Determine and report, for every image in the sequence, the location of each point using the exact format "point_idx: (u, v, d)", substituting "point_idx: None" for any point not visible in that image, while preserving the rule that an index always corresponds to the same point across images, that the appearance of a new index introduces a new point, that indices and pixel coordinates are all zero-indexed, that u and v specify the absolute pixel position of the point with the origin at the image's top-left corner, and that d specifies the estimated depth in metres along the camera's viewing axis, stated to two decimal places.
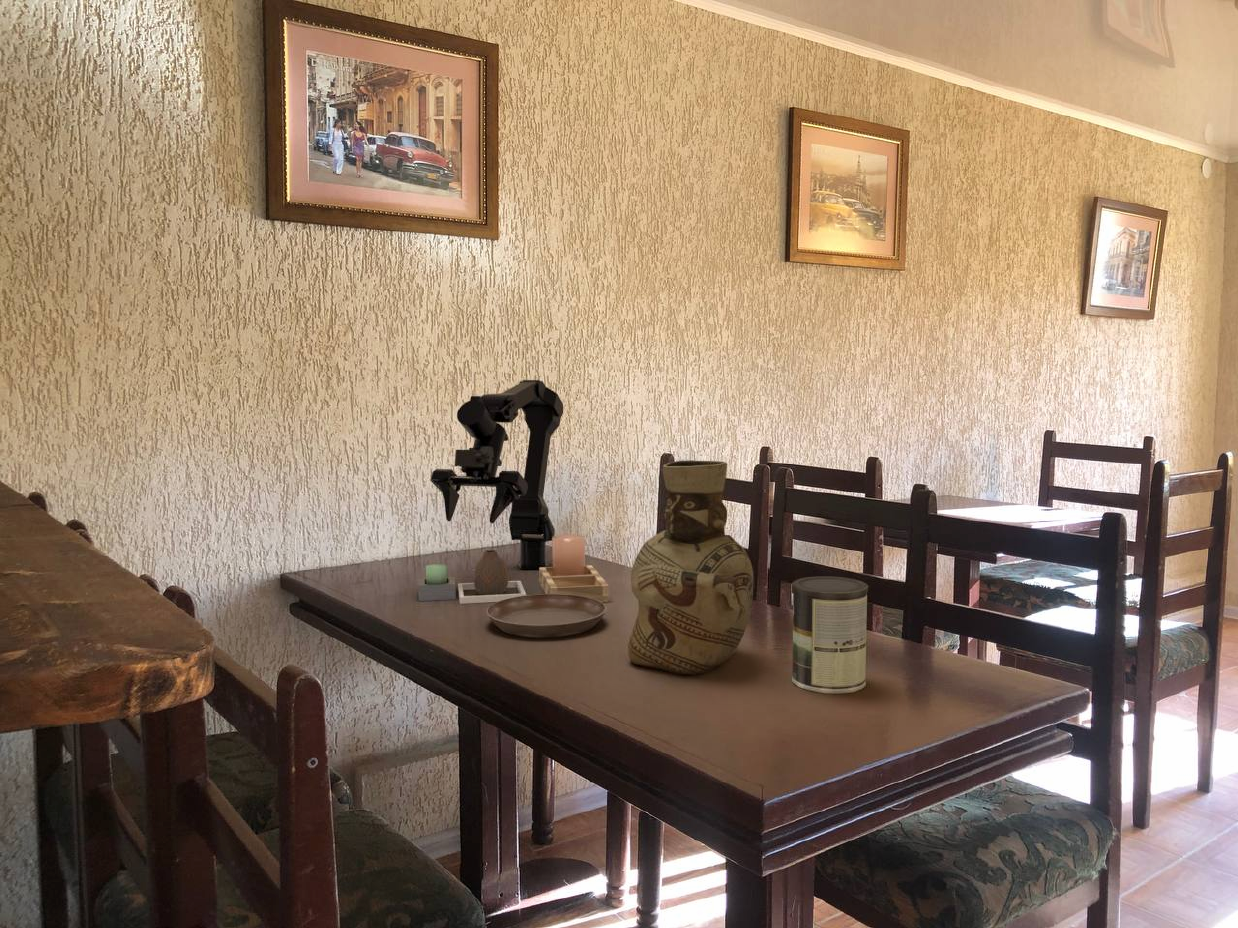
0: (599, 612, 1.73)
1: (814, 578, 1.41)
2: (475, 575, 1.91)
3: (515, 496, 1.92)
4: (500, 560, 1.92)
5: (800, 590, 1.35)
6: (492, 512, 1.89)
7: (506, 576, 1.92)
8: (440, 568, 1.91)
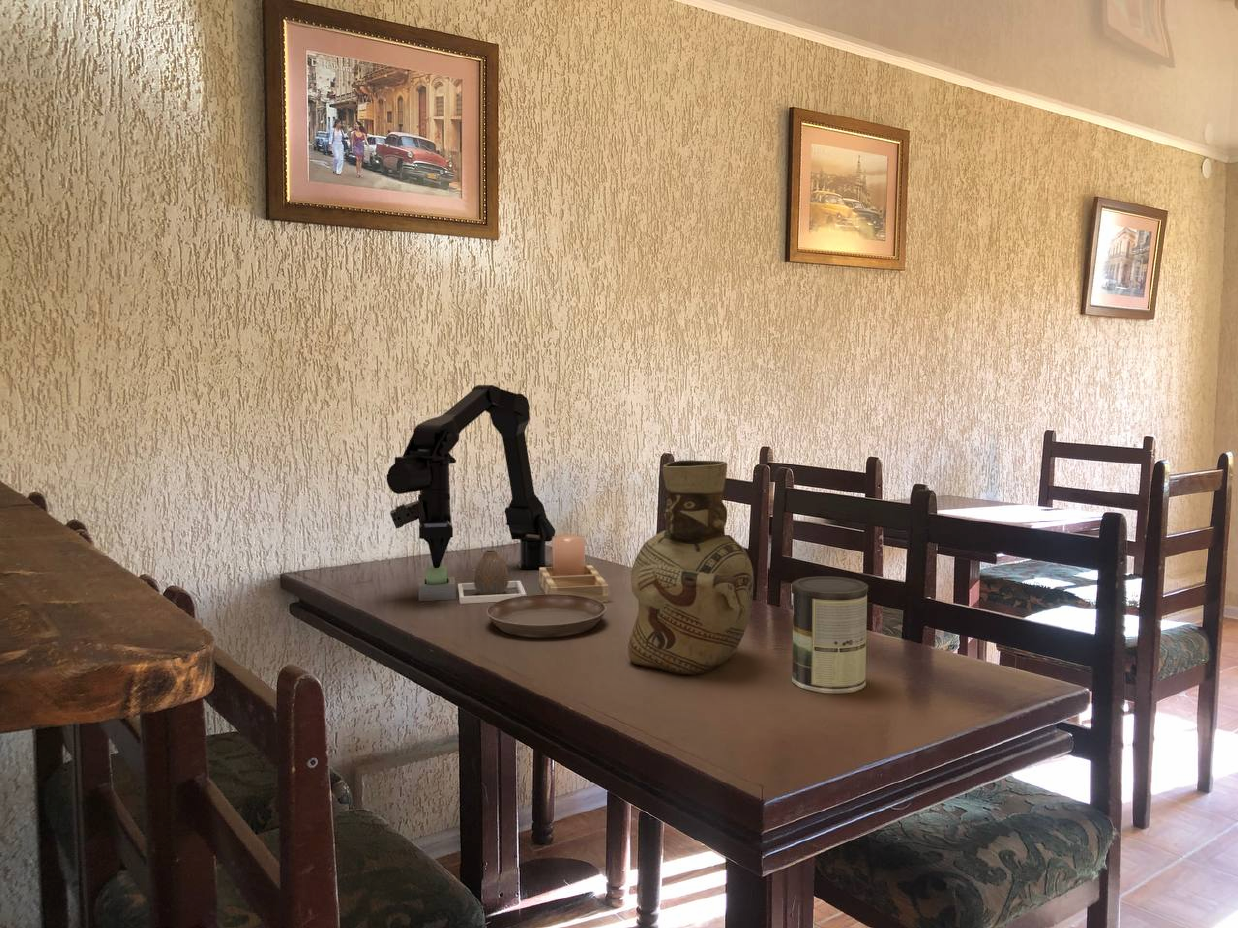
0: (599, 612, 1.73)
1: (814, 578, 1.41)
2: (475, 575, 1.91)
3: None
4: (500, 560, 1.92)
5: (800, 590, 1.35)
6: None
7: (506, 576, 1.92)
8: (440, 570, 1.91)
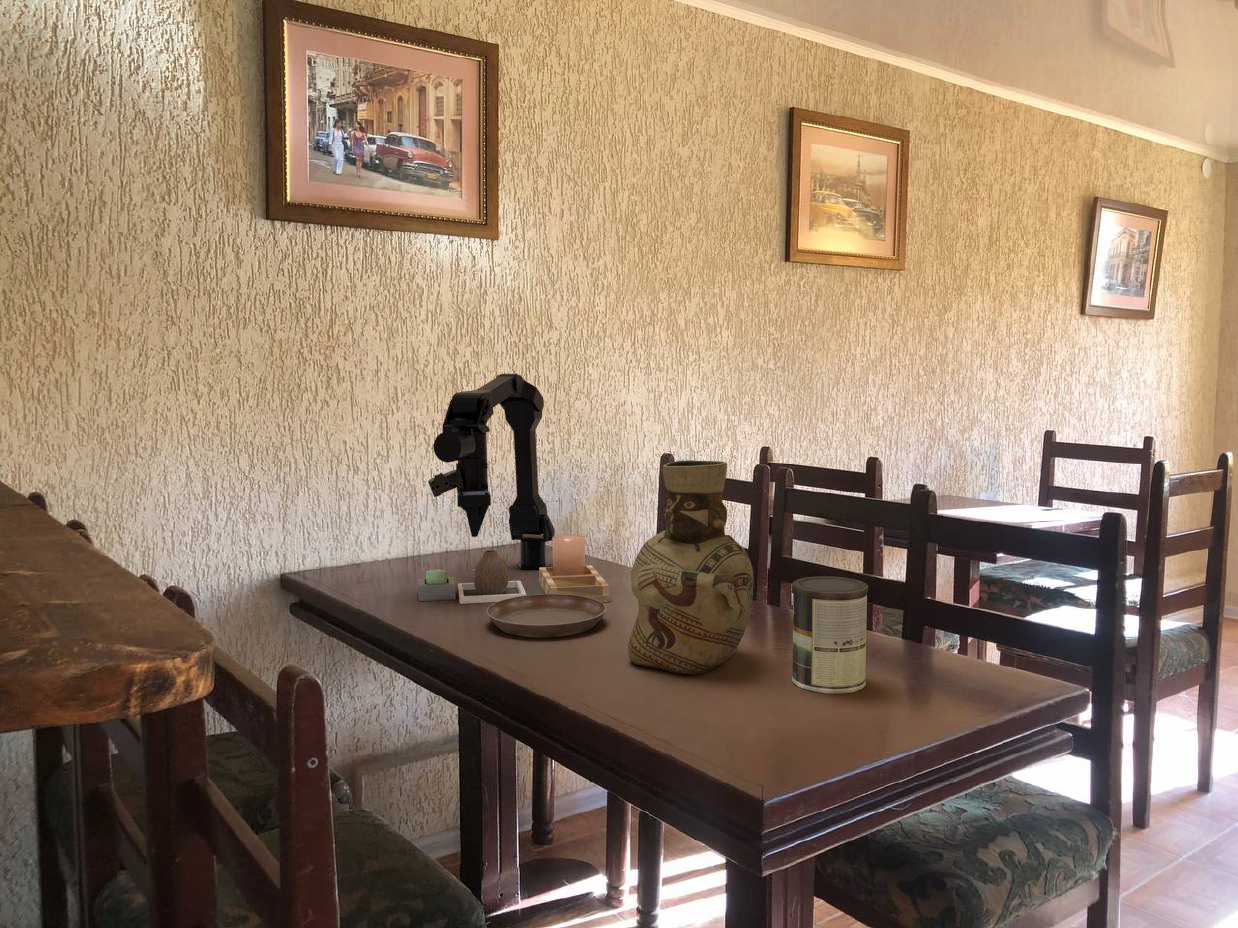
0: (599, 612, 1.73)
1: (814, 578, 1.41)
2: (475, 575, 1.91)
3: None
4: (500, 560, 1.92)
5: (800, 590, 1.35)
6: None
7: (506, 576, 1.92)
8: (440, 574, 1.91)
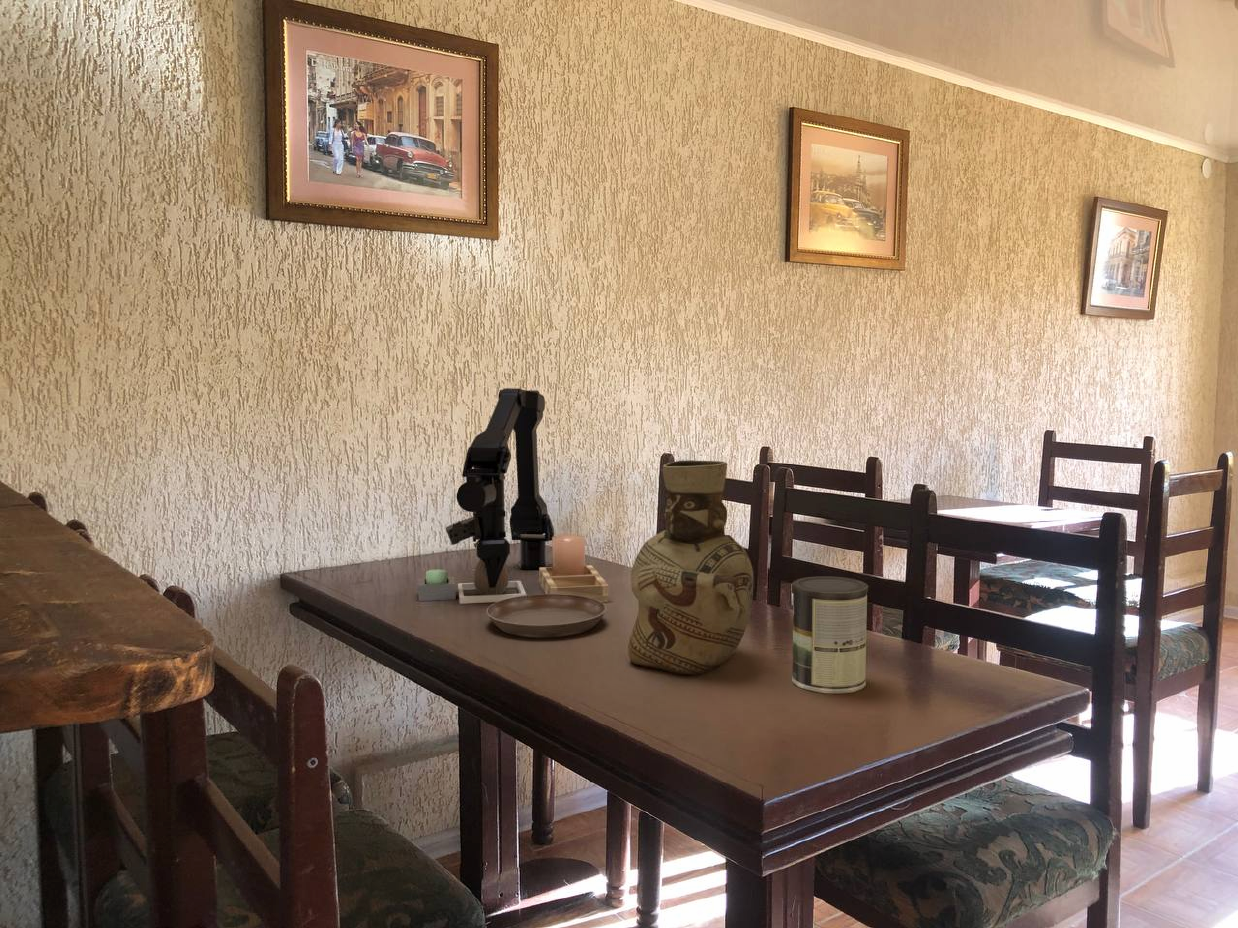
0: (599, 612, 1.73)
1: (814, 578, 1.41)
2: (475, 575, 1.91)
3: None
4: None
5: (800, 590, 1.35)
6: None
7: (506, 576, 1.92)
8: (440, 574, 1.91)
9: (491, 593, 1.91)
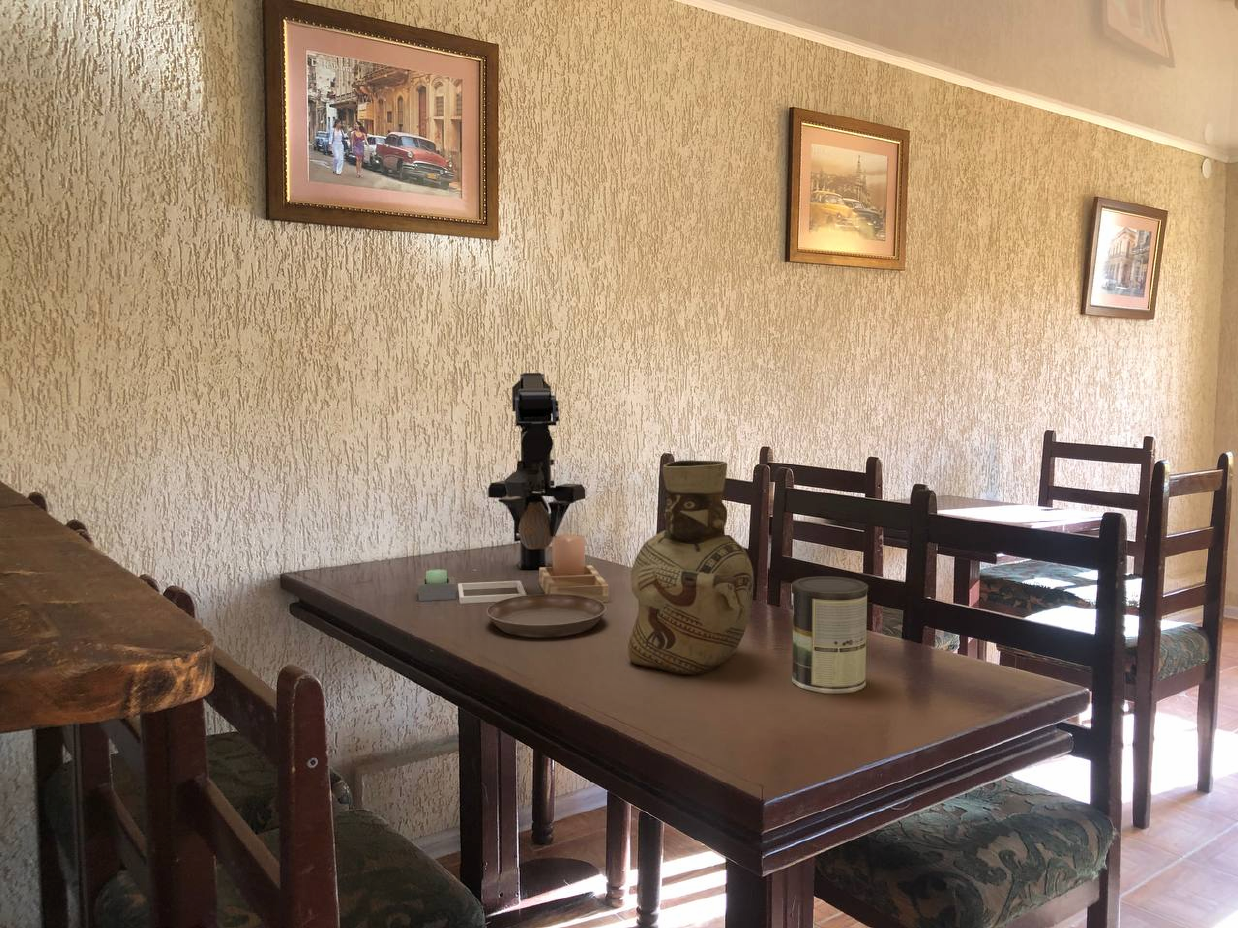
0: (599, 612, 1.73)
1: (814, 578, 1.41)
2: (535, 528, 1.87)
3: (570, 502, 1.89)
4: None
5: (800, 590, 1.35)
6: (552, 528, 1.88)
7: None
8: (440, 574, 1.91)
9: (549, 543, 1.90)
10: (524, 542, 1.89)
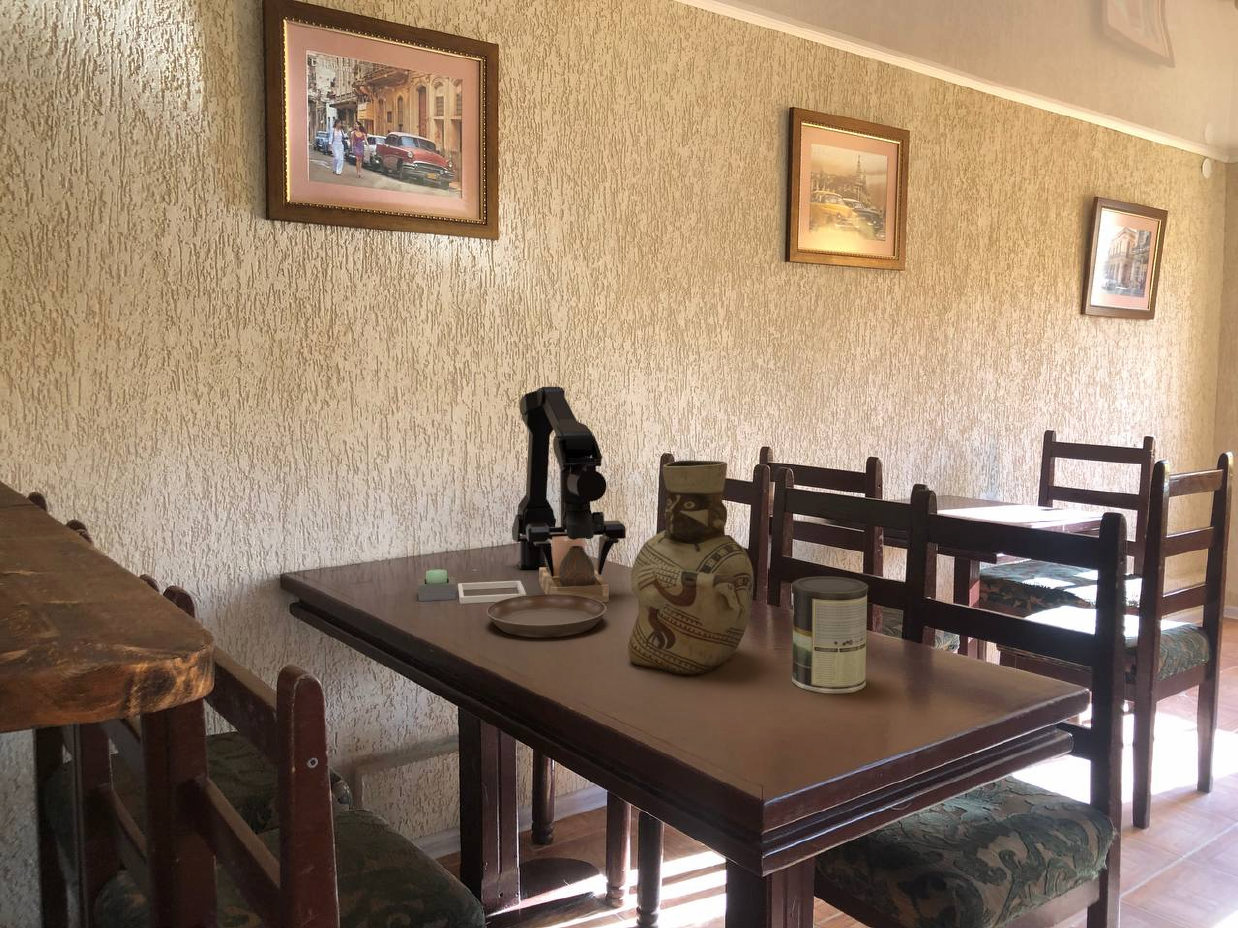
0: (599, 612, 1.73)
1: (814, 578, 1.41)
2: (587, 572, 1.88)
3: None
4: None
5: (800, 590, 1.35)
6: (601, 566, 1.90)
7: None
8: (440, 574, 1.91)
9: None
10: None
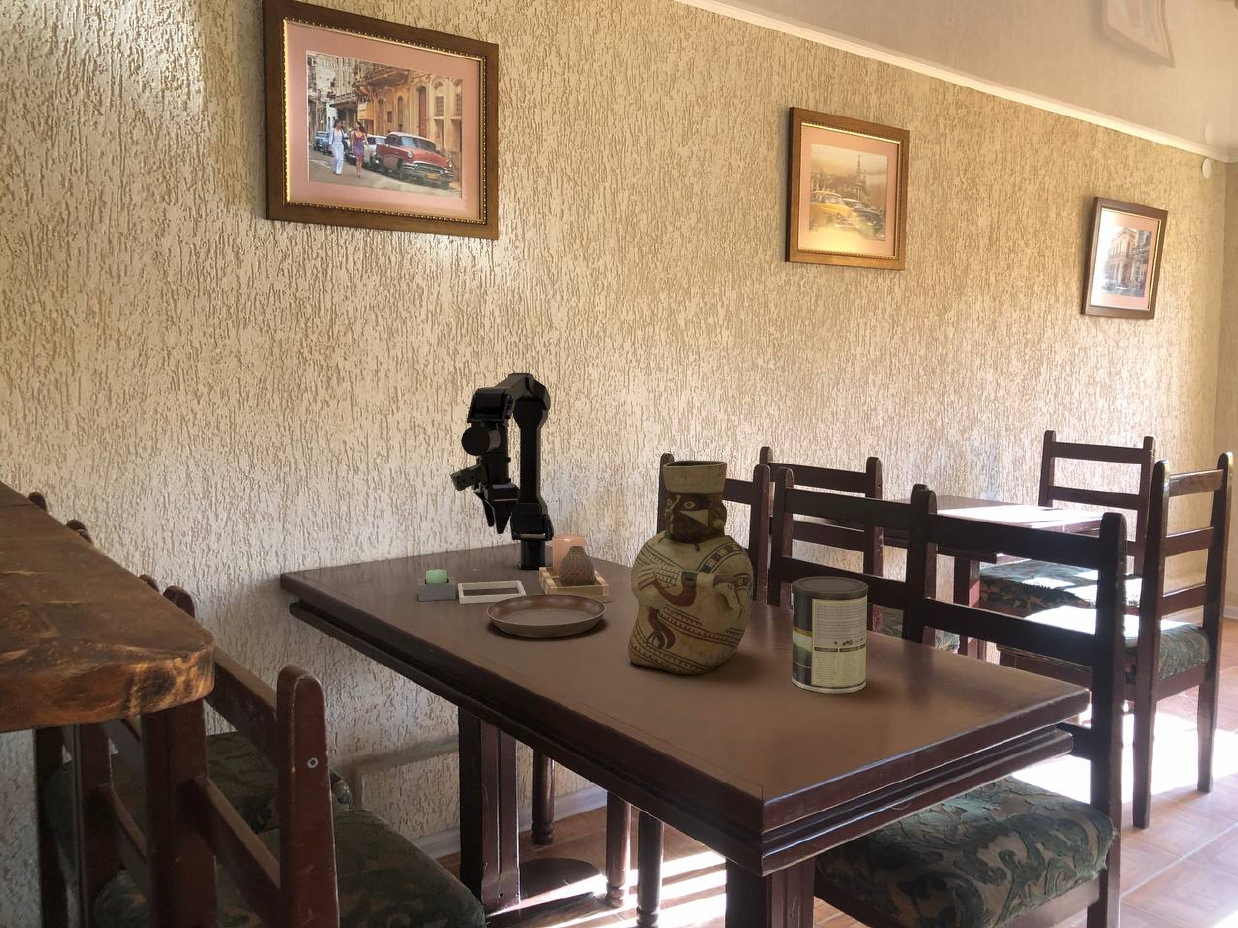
0: (599, 612, 1.73)
1: (814, 578, 1.41)
2: (587, 572, 1.88)
3: None
4: None
5: (800, 590, 1.35)
6: None
7: None
8: (440, 574, 1.91)
9: None
10: None
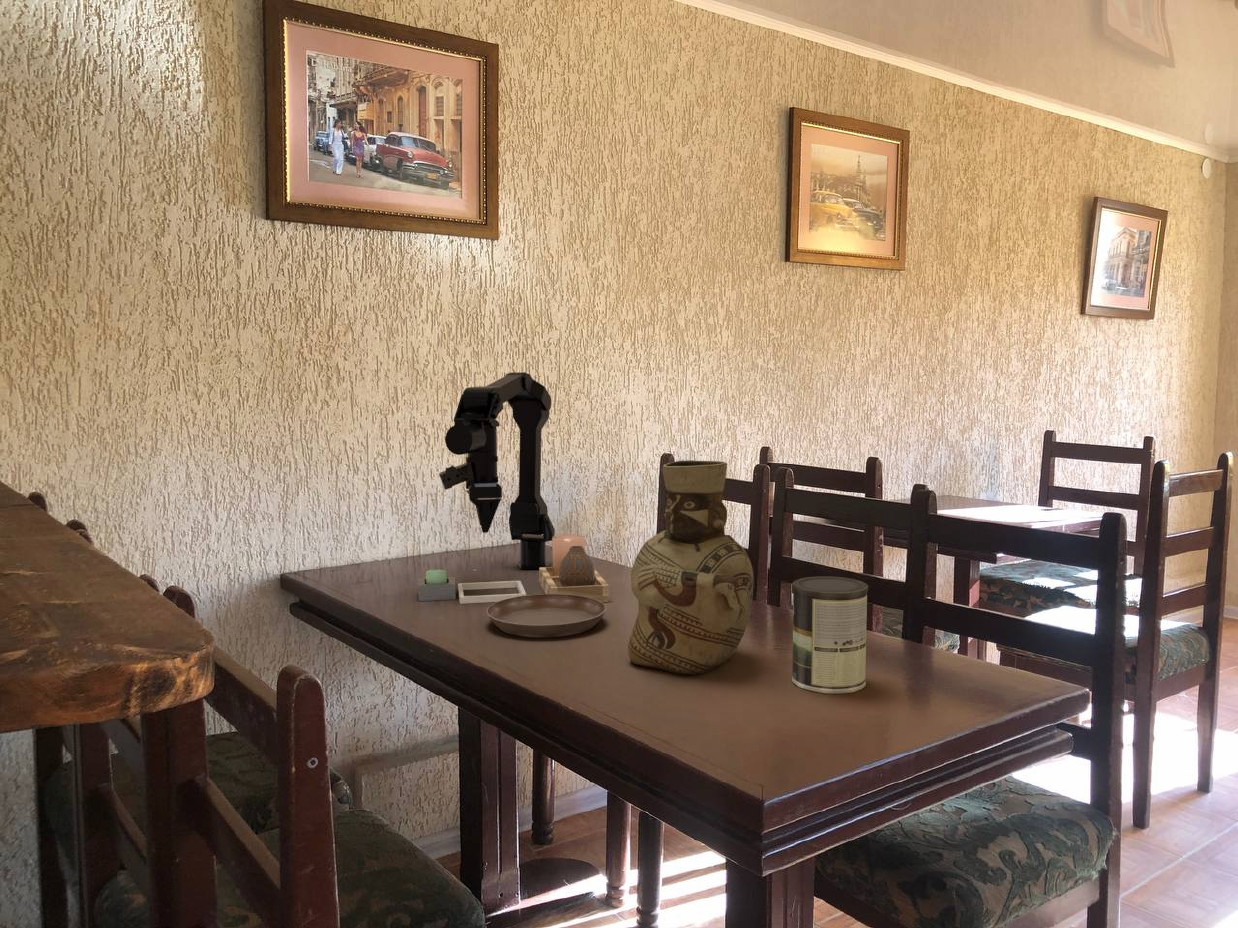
0: (599, 612, 1.73)
1: (814, 578, 1.41)
2: (587, 572, 1.88)
3: None
4: None
5: (800, 590, 1.35)
6: (480, 524, 1.91)
7: None
8: (440, 574, 1.91)
9: None
10: None
